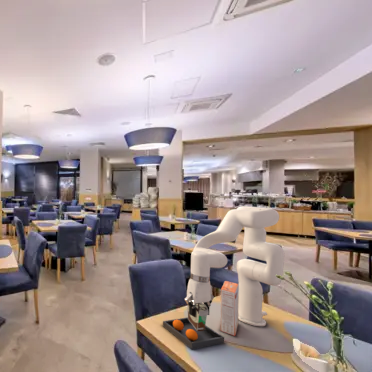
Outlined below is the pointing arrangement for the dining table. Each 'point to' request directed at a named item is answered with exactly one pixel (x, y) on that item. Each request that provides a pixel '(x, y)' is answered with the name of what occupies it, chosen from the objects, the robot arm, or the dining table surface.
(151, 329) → the dining table surface
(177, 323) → the clementine
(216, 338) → the fruit tray
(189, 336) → the clementine
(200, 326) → the food container
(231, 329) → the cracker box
